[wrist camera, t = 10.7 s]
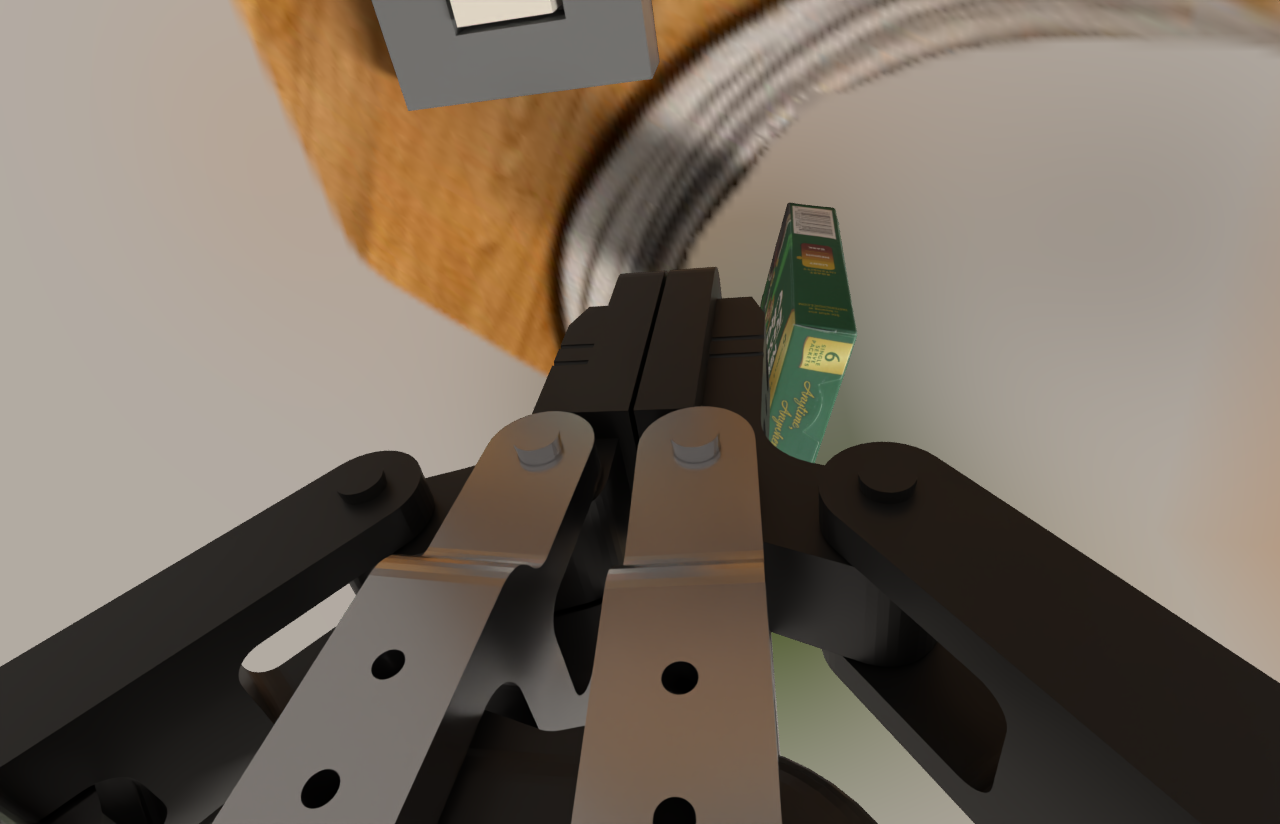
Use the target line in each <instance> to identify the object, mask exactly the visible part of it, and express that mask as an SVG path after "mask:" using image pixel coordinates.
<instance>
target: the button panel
mask: <svg viewBox="0 0 1280 824" xmlns="http://www.w3.org/2000/svg"><path fill="white" fill-rule="evenodd" d="M562 1H563V4H562V5H561V6H559V7H558V8H557V9H556V10H555V11H554V12H553V13H549V14H542V15H536V16H529V17H523V18H516V19H510V20H503V21H497V22H490V23H484V24H477V25H471V26H464V27H458V28H457V24H456V20H455V17H454V13H453V10H452V6H451V2H450V0H372V3H373V6H374V9H375V12H376V15H377V18H378V21H379V24H380V27H381V30H382V33H383V36H384V39H385V42H386V45H387V48H388V51H389V54H390V57H391V60H392V63H393V66H394V69H395V72H396V75H397V78H398V81H399V84H400V87H401V90H402V93H403V96H404V99H405V102H406V105H407V108H408V111H412V110H419V109H427V108H434V107H442V106H450V105H457V104H465V103H472V102H480V101H487V100H495V99H503V98H510V97H518V96H525V95H533V94H540V93H548V92H556V91H563V90H571V89H578V88H586V87H594V86H601V85H609V84H616V83H624V82H631V81H639V80H647V79H652V78H653V75H654V73H655V71H656V68H657V66H658V64H659V54H658V47H657V39H656V31H655V24H654V16H653V9H652V1H651V0H562Z"/></svg>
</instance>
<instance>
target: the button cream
mask: <svg viewBox="0 0 1280 824" xmlns="http://www.w3.org/2000/svg"><path fill="white" fill-rule="evenodd" d="M450 2H451V6H452V10H453V13H454V17H455V20H456V24H457V28H458V27H464V26H471V25H477V24H484V23H490V22H497V21H503V20H510V19H516V18H523V17H529V16H536V15H542V14H549V13H553V12H554V11H555V10H556V9H557V8H558V7H559V6H561V5H562V4H563V1H562V0H450Z"/></svg>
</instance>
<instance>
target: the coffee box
mask: <svg viewBox="0 0 1280 824" xmlns="http://www.w3.org/2000/svg"><path fill="white" fill-rule="evenodd" d="M760 308H761V309H762V311H763V312H764V313H765V322H766V337H767V353H768V368H769V384H770V417H769V421H770V423H769V441H770V442H771V443H772V444H773V445H774V446H775V447H777V448H778V449H779V450H781V451H782V452H784V453H786V454H788V455H790V456H792V457H795V458H797V459H800V460H804V461H807V462H811V463H815V460H816V457H817V454H818V451H819V448H820V445H821V442H822V439H823V436H824V433H825V430H826V427H827V424H828V421H829V418H830V415H831V412H832V409H833V406H834V403H835V400H836V397H837V394H838V391H839V388H840V385H841V382H842V379H843V377H844V373H845V370H846V368H847V365H848V362H849V359H850V356H851V353H852V350H853V347H854V344H855V341H856V337H857V330H856V325H855V320H854V314H853V308H852V302H851V296H850V291H849V286H848V279H847V272H846V267H845V261H844V254H843V248H842V242H841V236H840V230H839V223H838V219H837V216H836V210H835V209H834V208H831V207H820V206H810V205H802V204H795V203H788V204H787V207H786V211H785V215H784V218H783V222H782V227H781V230H780V233H779V237H778V240H777V243H776V247H775V251H774V255H773V259H772V263H771V267H770V271H769V274H768V278H767V282H766V286H765V290H764V294H763V296H762V301H761V307H760Z"/></svg>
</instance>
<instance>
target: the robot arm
mask: <svg viewBox="0 0 1280 824" xmlns="http://www.w3.org/2000/svg"><path fill="white" fill-rule="evenodd" d="M769 417H770V384H769V368H768V353H767V337H766V322H765V313H764V312H763V311H762V309H761V308H760V307H759V305H758V304H757V303H756V302H755V300H754V299H753V298H752V297H738V298H723V299H722V297H721V287H720V278H719V272H718V269H717V267H707V268H694V269H680V270H670V271H669V272H667V271H654V272H640V273H626V274H620V275H619V277H618V280H617V282H616V285H615V288H614V291H613V294H612V296H611V299H610V302H609V305H608V306H597V307H589V308H588V309H587V310H586V311H584V312H583V313H582V314H581V315H580V316H579V317H578V318H577V319H576V320H575V321H573V322H572V323H571V324H570V325H569V327H568V330H567V332H566V334H565V337H564V339H563V341H562V344H561V349H559V351H558V353H557V356H556V358H555V360H554V366H552V368H551V370H550V372H549V375H548V377H547V379H546V382H545V384H544V387H543V389H542V391H541V394H540V396H539V399H538V401H537V403H536V406H535V408H534V411H533V413H532V415H528V416H525V417H523V418H520V419H518V420H516V421H514V422H512V423H510V424H509V425H507V426H505V427H504V428H503V429H501V430H500V431H499V432H498V433H497V434H496V435H495V436H494V437H493V438H492V439H491V441H490V442H489V443H488V445H487V447H486V449H485V450H484V452H483V454H482V455H481V457H480V459H479V461H478V462H477V464H476V465H475V466H472V467H468V468H465V469H461V470H457V471H453V472H449V473H445V474H440V475H437V476H432V477H428V478H425V477H424V475H423V473H422V471H421V468H420V466H419V464H418V462H417V461H416V460H415V459H414V458H413V457H412V456H410V455H409V454H406V453H403V452H398V451H379V452H373V453H369V454H365V455H363V456H359V457H357V458H354V459H352V460H349V461H348V462H346V463H344V464H342V465H340V466H338V467H337V468H335V469H333V470H332V471H330V472H328V473H327V474H325V475H323V476H321V477H320V478H318V479H316V480H315V481H313V482H311V483H310V484H308V485H306V486H305V487H303V488H301V489H300V490H298V491H296V492H295V493H293V494H291V495H289V496H288V497H286V498H285V499H283V500H281V501H279V502H278V503H276V504H274V505H273V506H271V507H269V508H267V509H266V510H264V511H263V512H261V513H259V514H257V515H256V516H254V517H252V518H251V519H249V520H247V521H246V522H244V523H242V524H240V525H239V526H237V527H235V528H234V529H232V530H230V531H229V532H227V533H225V534H224V535H222V536H220V537H219V538H217V539H215V540H213V541H212V542H210V543H208V544H207V545H205V546H203V547H202V548H200V549H198V550H197V551H195V552H193V553H192V554H190V555H188V556H187V557H185V558H183V559H181V560H180V561H178V562H176V563H175V564H173V565H171V566H170V567H168V568H166V569H165V570H163V571H161V572H159V573H158V574H156V575H154V576H153V577H151V578H149V579H148V580H146V581H144V582H143V583H141V584H139V585H138V586H136V587H134V588H132V589H131V590H129V591H127V592H126V593H124V594H122V595H121V596H119V597H117V598H116V599H114V600H112V601H111V602H109V603H107V604H106V605H104V606H102V607H100V608H99V609H97V610H95V611H94V612H92V613H90V614H89V615H87V616H85V617H84V618H82V619H80V620H79V621H77V622H75V623H73V624H72V625H70V626H69V627H67V628H65V629H63V630H62V631H60V632H58V633H57V634H55V635H53V636H51V637H50V638H48V639H46V640H45V641H43V642H42V643H40V644H38V645H36V646H35V647H33V648H31V649H30V650H28V651H26V652H25V653H23V654H21V655H19V656H18V657H16V658H14V659H13V660H11V661H9V662H8V663H6V664H4V665H3V666H1V667H0V824H878V823H877V822H876V821H875V820H874V819H873V818H872V817H871V816H870V815H869V814H868V813H867V812H866V811H865V810H864V809H863V808H862V807H861V806H860V805H859V804H858V803H857V802H855V801H854V800H853V799H852V798H850V797H849V796H848V795H847V794H845V793H844V792H843V791H841V790H840V789H839V788H838V787H837V786H836V785H834V784H833V783H831V782H830V781H828V780H826V779H824V778H823V777H822V776H820V775H818V774H817V773H815V772H814V771H812V770H810V769H809V768H806V767H804V766H802V765H800V764H798V763H796V762H794V761H792V760H790V759H788V758H786V757H783V756H780V746H779V733H778V720H777V706H776V693H775V680H774V666H773V652H772V638H771V632H773V633H776V634H779V635H782V636H785V637H788V638H791V639H794V640H797V641H800V642H803V643H806V644H809V645H812V646H815V647H818V648H821V649H822V651H823V655H824V658H825V659H826V661H827V663H828V665H829V667H830V668H831V669H832V670H833V672H834V673H835V674H836V675H837V676H838V677H839V678H840V680H841V681H842V682H843V683H844V684H845V685H846V686H847V687H848V688H849V689H850V690H851V691H852V692H853V693H854V695H855V696H856V697H857V698H858V699H859V700H860V701H861V702H862V703H863V704H864V705H865V706H866V707H867V708H868V710H869V711H870V712H871V713H872V714H873V715H874V716H875V717H876V718H877V719H878V720H879V721H880V722H881V724H882V725H883V726H884V727H885V728H886V729H887V730H888V731H889V732H890V733H891V734H892V735H893V736H894V737H895V739H896V740H897V741H898V742H899V743H900V744H901V745H902V746H903V747H904V748H905V749H906V750H907V751H908V752H909V754H910V755H911V756H912V757H913V758H914V759H915V760H916V761H917V762H918V763H919V764H920V765H921V766H922V767H923V769H924V770H925V771H926V772H927V773H928V774H929V775H930V776H931V777H932V778H933V779H934V780H935V781H936V782H937V784H938V785H939V786H940V787H941V788H942V789H943V790H944V791H945V792H946V793H947V794H948V795H949V796H950V797H951V799H952V800H953V801H954V802H955V803H956V804H957V805H958V806H959V807H960V808H961V809H962V810H963V811H964V813H965V814H966V815H967V816H968V817H969V818H970V819H971V820H972V821H973V822H974V823H975V824H1280V683H1279V682H1277V681H1276V680H1274V679H1272V678H1271V677H1269V676H1268V675H1266V674H1265V673H1263V672H1262V671H1260V670H1259V669H1257V668H1256V667H1254V666H1253V665H1251V664H1250V663H1248V662H1247V661H1245V660H1244V659H1242V658H1241V657H1239V656H1238V655H1236V654H1235V653H1233V652H1231V651H1230V650H1229V649H1227V648H1225V647H1224V646H1222V645H1221V644H1219V643H1218V642H1216V641H1215V640H1213V639H1212V638H1210V637H1209V636H1207V635H1205V634H1204V633H1203V632H1201V631H1200V630H1198V629H1197V628H1195V627H1193V626H1192V625H1190V624H1189V623H1188V622H1186V621H1185V620H1183V619H1181V618H1180V617H1178V616H1177V615H1175V614H1174V613H1172V612H1171V611H1169V610H1168V609H1166V608H1165V607H1163V606H1162V605H1160V604H1159V603H1157V602H1156V601H1154V600H1152V599H1151V598H1149V597H1148V596H1147V595H1145V594H1144V593H1142V592H1141V591H1139V590H1137V589H1136V588H1134V587H1133V586H1131V585H1130V584H1128V583H1127V582H1125V581H1124V580H1122V579H1121V578H1119V577H1118V576H1116V575H1114V574H1113V573H1112V572H1110V571H1109V570H1107V569H1106V568H1104V567H1103V566H1101V565H1099V564H1098V563H1096V562H1095V561H1093V560H1092V559H1090V558H1089V557H1087V556H1086V555H1084V554H1083V553H1081V552H1080V551H1078V550H1077V549H1075V548H1074V547H1072V546H1071V545H1069V544H1068V543H1066V542H1065V541H1063V540H1062V539H1060V538H1058V537H1057V536H1056V535H1054V534H1053V533H1051V532H1050V531H1047V530H1046V529H1045V528H1043V527H1042V526H1040V525H1039V524H1037V523H1036V522H1034V521H1033V520H1031V519H1030V518H1028V517H1027V516H1025V515H1024V514H1022V513H1021V512H1019V511H1018V510H1016V509H1015V508H1013V507H1012V506H1010V505H1009V504H1007V503H1006V502H1004V501H1002V500H1001V499H999V498H998V497H996V496H995V495H993V494H992V493H990V492H989V491H987V490H986V489H984V488H983V487H981V486H980V485H978V484H977V483H975V482H974V481H972V480H971V479H969V478H968V477H966V476H965V475H963V474H961V473H960V472H958V471H957V470H955V469H954V468H952V467H951V466H949V465H948V464H946V463H945V462H943V461H941V460H940V459H938V458H937V457H936V456H934V455H932V454H930V453H929V452H927V451H924V450H922V449H919V448H917V447H913V446H909V445H906V444H900V443H894V442H871V443H865V444H860V445H856V446H853V447H850V448H848V449H845V450H843V451H841V452H840V453H838V454H837V455H835V456H834V457H832V458H831V459H830V460H829V461H828V462H827V464H826V465H820V464H816V463H811V462H807V461H804V460H800V459H797V458H795V457H792V456H790V455H788V454H786V453H784V452H782V451H781V450H779V449H778V448H777V447H775V446H774V445H773V444H772V443H771V442H770V441H769V423H770V421H769ZM348 583H349V584H350V586H351V587H352V589H353V591H354V592H355V594H356V597H355V598H354V600H353V601H352V603H351V605H350V606H349V608H348V609H347V611H346V612H345V614H344V616H343V617H342V619H341V620H340V622H339V623H338V625H337V626H336V627H335V628H333V629H332V630H330V631H329V632H328V633H326V634H325V635H323V636H322V637H321V638H319V639H318V640H316V641H315V642H313V643H312V644H311V645H309V646H308V647H306V648H305V649H304V650H302V651H301V652H299V653H298V654H296V655H295V656H293V657H292V658H291V659H289V660H288V661H286V662H285V663H283V664H282V665H280V666H279V667H277V668H275V669H273V670H270V671H266V672H259V673H257V672H251V671H248V670H247V669H245V668H244V667H243V666H242V665H241V664H242V662H243V660H244V658H245V657H246V656H247V655H248V653H249V652H250V651H251V650H252V649H253V648H255V647H256V646H257V645H259V644H260V643H261V642H263V641H264V640H266V639H267V638H269V637H270V636H272V635H273V634H275V633H276V632H278V631H279V630H281V629H282V628H284V627H285V626H287V625H288V624H289V623H291V622H292V621H294V620H295V619H297V618H298V617H300V616H301V615H303V614H304V613H306V612H307V611H308V610H310V609H311V608H313V607H314V606H316V605H317V604H319V603H320V602H322V601H323V600H325V599H326V598H328V597H329V596H331V595H332V594H334V593H335V592H336V591H338V590H340V589H341V588H342V587H344V586H345V585H347V584H348Z"/></svg>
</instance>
